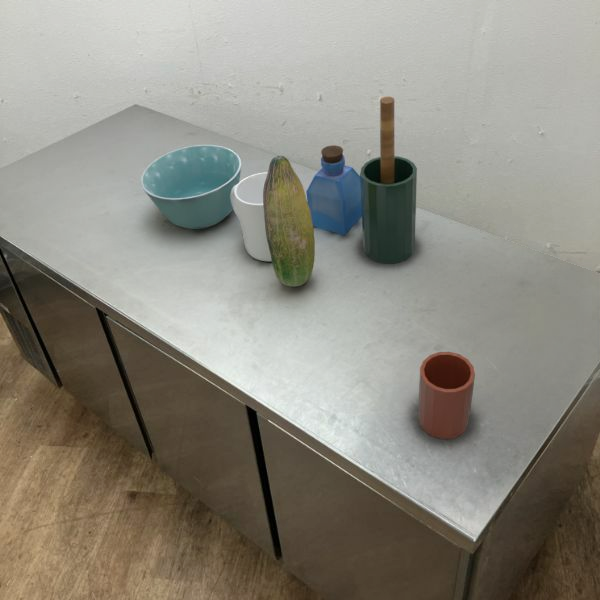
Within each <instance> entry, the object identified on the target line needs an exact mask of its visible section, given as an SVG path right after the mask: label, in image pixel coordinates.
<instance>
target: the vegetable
mask: <svg viewBox="0 0 600 600" xmlns="http://www.w3.org/2000/svg"><path fill="white" fill-rule="evenodd" d="M269 162H270V163H269V165H268V170H267V172H268V174H267V177H266V180H265V184H264V189H263V206H264V219H265V230H266V237H267V242H268V246H269V250H270V255H271V260H272V261H271V264H272V267H273V272H274V273H275V276H276V277H277V280H278V281H279V282H280V283H282V284H283V285H285V286H287V287H290V288H291V287H292V288H293V287H300V286H302V285H305V283H307V282H308V281H309V279H310V277H311V275H312V273H313V272H314V271H313V269H314V266H315V256H316V242H315V241H316V239H315V230H314V226H313V223H312V219H311V213H310V209H309V206H308V203H307V195H306V193H305V189H304V186H303V184H302V182H301V179H300V178H299V176H298V175H297V173H296V171H295V170H294V168H293V167H292V165H291V163H290V160H289V159H288V158H286V157H285V156H284V155H276V156H273V158H272V159H271V161H269Z"/></svg>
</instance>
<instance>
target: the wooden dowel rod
mask: <svg viewBox="0 0 600 600" xmlns="http://www.w3.org/2000/svg"><path fill="white" fill-rule="evenodd" d="M379 151H380V154H379V157H380V159H381V184H394V156H395V98H394V97H392V96H383V97H381V98H379Z"/></svg>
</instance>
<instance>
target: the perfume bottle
mask: <svg viewBox="0 0 600 600" xmlns="http://www.w3.org/2000/svg"><path fill="white" fill-rule="evenodd" d="M343 153H344V148H343V147H342V146H340V145H336V144H335V145H333V144H332V145H327V146H325V147H323V148H322V149H321V151H320V154H321V157H320V165H321V169H320V170H318V172H317V173H315V175H314V176H313V178H312V179H311V182H310V184H309V186H308V188H307V189H306V193H305V195H306V200H307V203H308V206H309V209H310V213H311V219H312V223H313V228H317V229H322V230H325V231H328V232H332V233H335V234H338V235H342V236H346V235H347V234H348V233H349V232H350V230H351V229H352V228H353V227H354V226H355V225H356V224H357V222H358V221H359V220H360V219H362V208H361V183H360V173H358V172H357V171H356V170H355V168H353V166H349V165H346V159H345V155H344V154H343Z"/></svg>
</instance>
